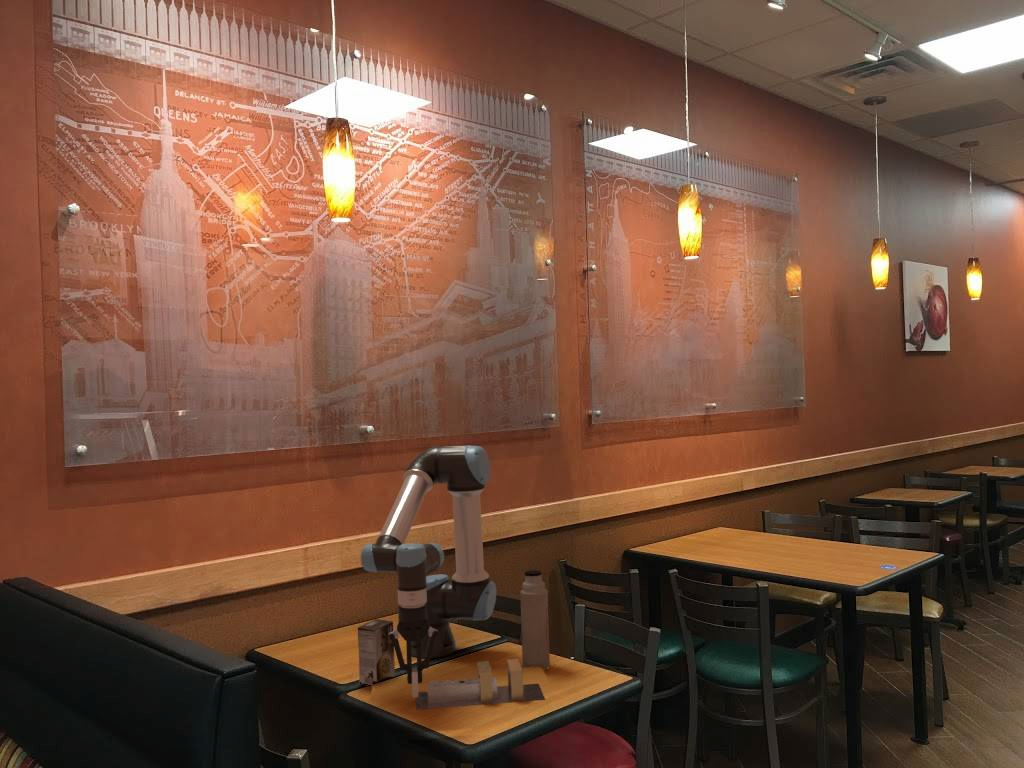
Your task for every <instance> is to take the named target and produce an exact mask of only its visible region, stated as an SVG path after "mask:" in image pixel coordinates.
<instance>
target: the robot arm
mask: <svg viewBox="0 0 1024 768" xmlns="http://www.w3.org/2000/svg"><path fill="white" fill-rule="evenodd" d="M490 463H491V462H490V459H489V456H488V454H487V451H486V450H485V449H484V448H483V447H482V446H479V445H468V444H466V445H464V444H463V445H434V446H432V447H429V448H426V449H425V450H424V451H422V452H420V454H418V455H417V456H416V457H414V459H413V460H412V461H411V462H410V463H409V464H408V466H407V467H406V469H405V471H404V474H403V475H402V482H403V484H402V485H401V487H400V490H399V491H398V494H397V496H396V498H395V500H394V503H393V504H392V507H391V509H390V511H389V513H388V516H387V518H386V520H385V521H384V525H383V527H382V529H381V530H380V532H379V535H378V538H376V541H375V543H367V544H366V545H364V546H363V548H362V550H361V554H360V562H361V563H360V564H361V566H362V569H364V570H365V571H366V572H370V573H371V572H372V573H396V576H397V577H396V578H397V580H396V581H397V604H398V605H399V606H398V608H397V611H398V612H397V613H398V615H397V616H398V617H397V618H398V624H396V625H397V626H396V628H395V629H393V632H392V631H391V632H390V633H389V638H390V639H391V641H392V642H393V645H394V653H395V655H396V658H397V663H398V665H399V668H400V670H401V671H406V673H407V674H406V677H407V684H408V685H411V687H412V688H411V689H412V690H411V693H412V696H411V697H412V698H416V697H418V692H419V684H422V683H423V670H425V669H428V668H429V666H430V662H431V658H432V659H433V658H442V657H446V656H448V655H451V654H454V652H455V651H456V650H457V641H456V639H455V636H454V633H453V631H452V627H451V624H450V622H451V621H450V620H466V621H467V620H468V621H469V620H470V621H475V622H476V621H486V620H488V619H489V618H490V617H491V616H492V614H493V612H494V608H495V605H496V600H497V586H496V583H495V582H494V581H492V580H491V581H490V574H489V573H488V572H487V571H486V570H485V569H484V568H485V565H484V564H485V563H484V545H483V544H484V543H483V542H484V541H483V527H482V526H483V525H482V524H483V523H482V522H483V521H482V506H481V493H482V492H483V491H484V490H486V487H485V486H486V484H489V482H490V480H491V473H492V471H491V464H490ZM436 484H442V485H443V484H446V488H447V489H446V491H447V492H448V493H449V494H450V495H451V496H452V513H453V533H454V549H455V550H454V551H455V569H456V571H455V573H454V574H453V575H452V576H451V580H450V577H449V575H447V574H443V573H442V574H441V573H440V574H433V575H432V574H431V573H433V572H436V571H437V570H438V569H439V568H440V567H441V566H442V565H443V563H444V561H445V553H444V550H443V549H442V547H441V546H440V545H439V544H437V543H435V542H428V543H426V542H425V543H424V544H422V543H414V542H413V543H406V541H407V539H408V536H409V533H410V531H411V529H412V527H413V524H414V522H415V520H416V517H417V515H418V514H419V510H420V509H421V506H422V504H423V502H424V499H425V496H426V495H427V493H429V492H430V491H431V490H432V489H433V487H434V485H436ZM405 543H406V544H405ZM430 574H431V575H430ZM399 635H400V636H401V637H402V638H403V640H404V641H405V642H406V645H405V646H406V663H405V660H404V656H403V651H402V649H401V645H400V642H399ZM412 657H415V658H416V668H413V663H412V662H413V661H412V659H413V658H412ZM423 659H424V661H422V660H423Z"/></svg>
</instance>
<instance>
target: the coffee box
mask: <svg viewBox="0 0 1024 768" xmlns="http://www.w3.org/2000/svg"><path fill="white" fill-rule="evenodd" d="M391 631H392V632H393V631H394V621H391V620H386V619H379V618H378V619H377V618H376V619H373V620H371V621H369V622H366V623H365V624H363V625H361V626H359V627H357V642H358V646H357V647H358V669H359V670H358V671H359V676H358V678H359V679H358V680H359V683H360V682H362V683H365V684H368V685H372V686H373V683H374V682H375V683H376V682H377V683H378V682H380V681H381V680H383V679H385V678H391V677H392V678H393V677H396V669H395V668H396V666H395V665H396V663H395V660H396V659H395V648H394V645H393V642H392V641H391V639H390V638H389V633H390V632H391ZM368 685H367V686H368Z"/></svg>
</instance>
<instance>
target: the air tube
mask: <svg viewBox="0 0 1024 768" xmlns="http://www.w3.org/2000/svg"><path fill="white" fill-rule="evenodd" d="M426 683H427V685H426V686H427V692H428V703H432V702H445V701H458V700H472V699H481V698H480V678H478V677H476V678H465V679H464V678H462V679H450V680H449V679H447V680H434V681H427V682H426ZM497 687H498V681H497V678H496V676H492V696H493V698H497Z"/></svg>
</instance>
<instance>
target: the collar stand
mask: <svg viewBox="0 0 1024 768" xmlns="http://www.w3.org/2000/svg"><path fill="white" fill-rule="evenodd" d="M506 663H507V664H506V665H507V685H501V686H500V685H499V686H498V685H497V698H493V696H492V677H493V671H492V668H491V665H490V661H489V660H487V661H485V660H483V661H477V678H480V698H481V699H472V700H458V701H445V702H432V703H428V691H420V692H419V691H418V697H415V698H416V700H415V703H416V711H417V710H418V711H419V710H428V709H429V710H430V709H444V708H456V707H469V706H470V707H471V706H482V705H483V706H484V705H497V704H508V703H509V704H510V703H521V702H522V703H523V702H537V701H545V700H546V698H545V695H544V693H543V691H542V688H541V686H540V684H539V683H530V684H529V683H528V684H524V677H523V676H524V674H523V670H524V669H523V666H521V665H522V664H521V663H520V660H519V659H518V658H514V659H507V661H506Z"/></svg>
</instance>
